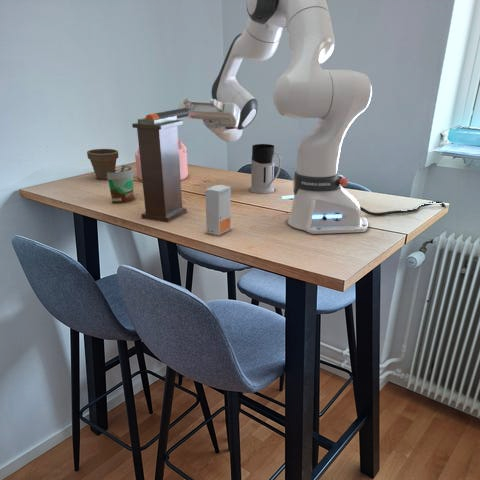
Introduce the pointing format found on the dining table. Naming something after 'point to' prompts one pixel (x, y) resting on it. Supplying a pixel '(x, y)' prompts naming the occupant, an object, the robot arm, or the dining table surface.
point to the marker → (169, 114)
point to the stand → (160, 167)
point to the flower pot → (103, 161)
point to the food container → (121, 184)
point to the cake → (181, 159)
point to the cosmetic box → (218, 209)
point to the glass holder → (263, 168)
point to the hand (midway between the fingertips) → (198, 100)
